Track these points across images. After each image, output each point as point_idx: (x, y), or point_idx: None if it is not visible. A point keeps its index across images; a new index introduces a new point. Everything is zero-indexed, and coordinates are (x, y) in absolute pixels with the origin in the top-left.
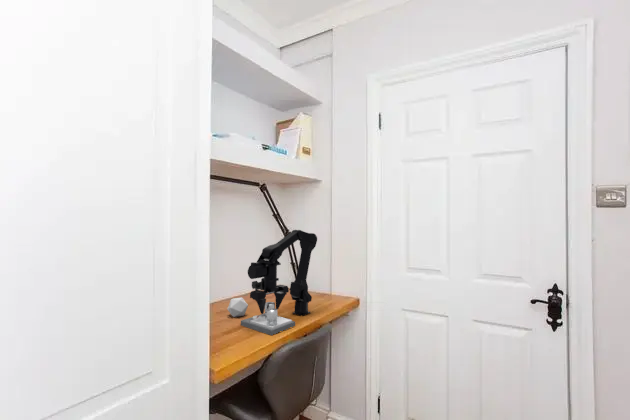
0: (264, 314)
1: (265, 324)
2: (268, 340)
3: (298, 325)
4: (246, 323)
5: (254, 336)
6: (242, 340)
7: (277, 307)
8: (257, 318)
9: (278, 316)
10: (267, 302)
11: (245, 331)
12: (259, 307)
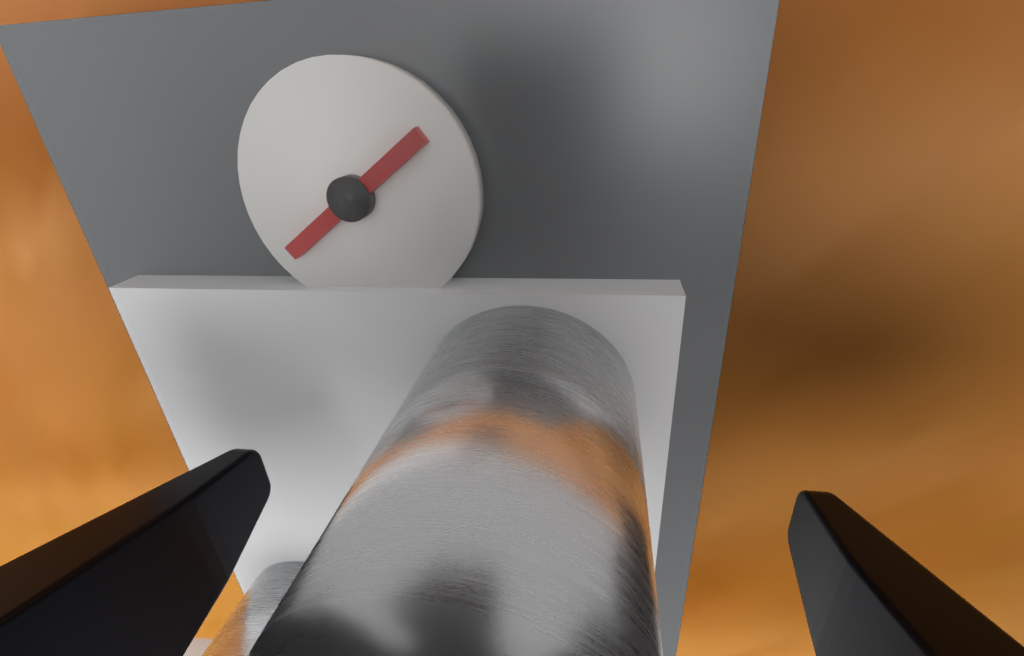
0: (679, 66)
1: (250, 561)
2: (219, 618)
3: (718, 646)
4: (95, 219)
5: (143, 492)
6: (13, 473)
7: (807, 573)
8: (275, 296)
9: (651, 509)
10: (431, 649)
11: (95, 322)
12: (43, 573)
